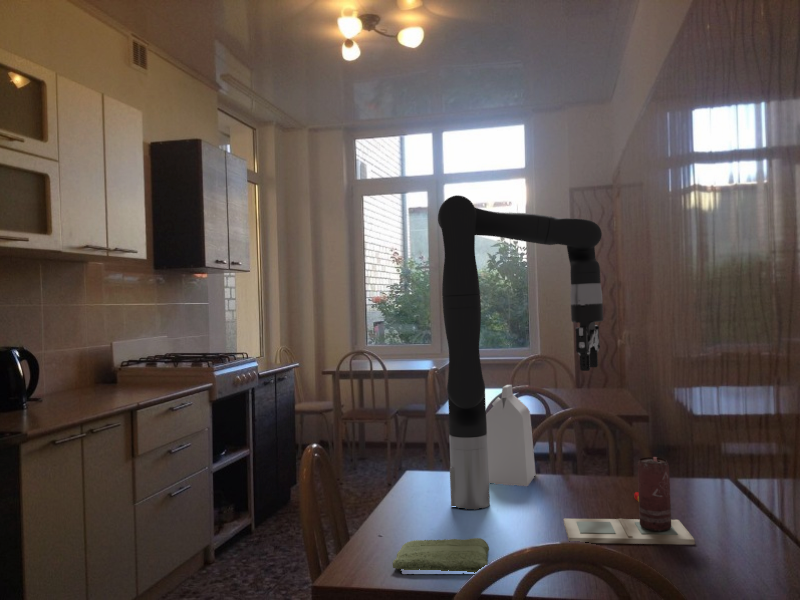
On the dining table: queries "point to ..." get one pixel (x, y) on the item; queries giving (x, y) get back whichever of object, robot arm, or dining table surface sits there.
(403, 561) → the washcloth
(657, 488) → the can
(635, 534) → the white flat rectangular tray
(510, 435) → the milk
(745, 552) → the dining table surface
